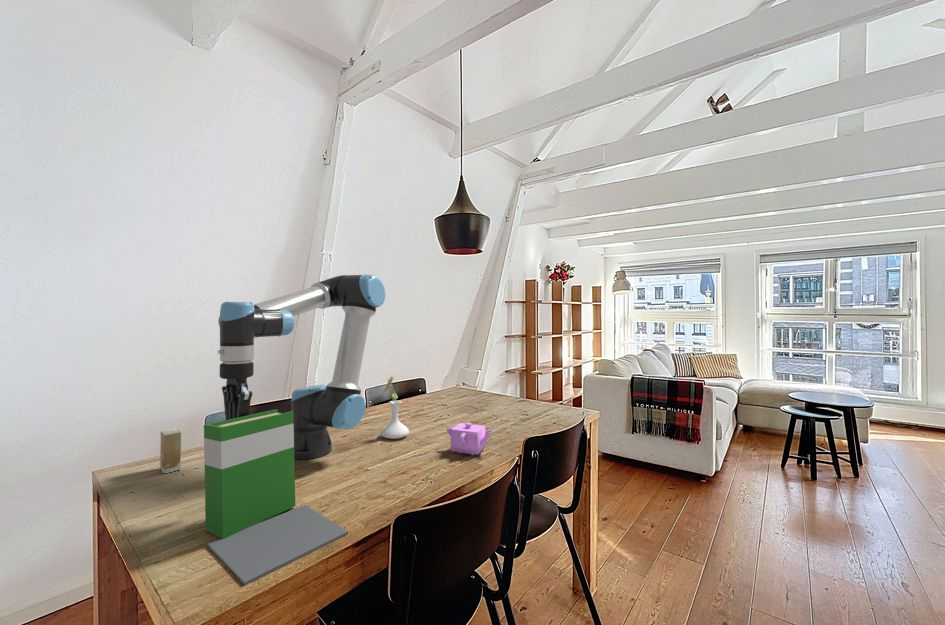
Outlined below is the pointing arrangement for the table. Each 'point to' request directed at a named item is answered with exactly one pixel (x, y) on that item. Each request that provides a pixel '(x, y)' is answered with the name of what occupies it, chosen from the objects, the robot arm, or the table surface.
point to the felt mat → (275, 543)
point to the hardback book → (248, 470)
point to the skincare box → (170, 450)
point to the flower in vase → (394, 418)
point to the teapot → (468, 438)
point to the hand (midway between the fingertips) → (236, 453)
